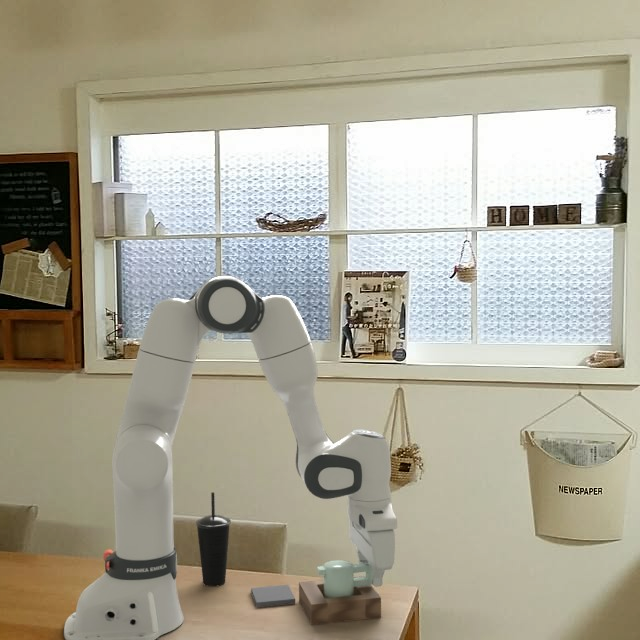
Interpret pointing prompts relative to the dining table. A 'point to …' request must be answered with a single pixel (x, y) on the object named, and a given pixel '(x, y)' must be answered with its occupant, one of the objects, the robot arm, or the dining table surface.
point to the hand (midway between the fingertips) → (370, 576)
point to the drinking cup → (213, 546)
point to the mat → (272, 595)
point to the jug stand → (338, 603)
